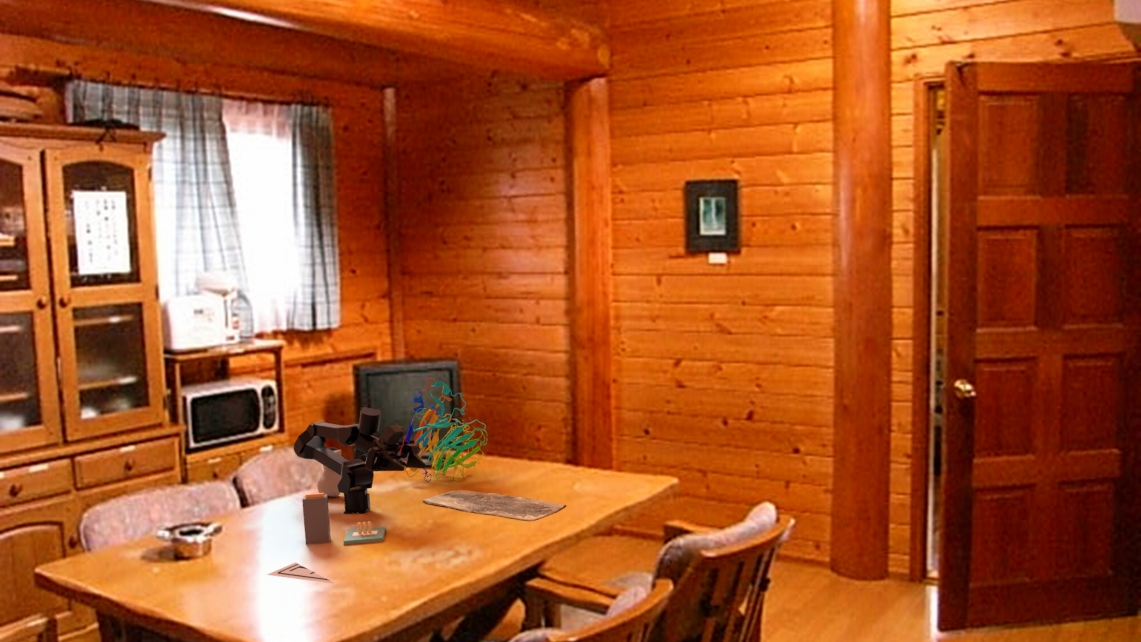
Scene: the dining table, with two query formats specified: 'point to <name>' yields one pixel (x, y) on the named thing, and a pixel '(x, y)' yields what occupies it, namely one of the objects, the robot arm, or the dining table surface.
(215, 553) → the dining table surface
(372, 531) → the board
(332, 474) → the figurine
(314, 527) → the block
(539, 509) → the relief sculpture
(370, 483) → the robot arm
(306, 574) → the sign
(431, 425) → the protein model
